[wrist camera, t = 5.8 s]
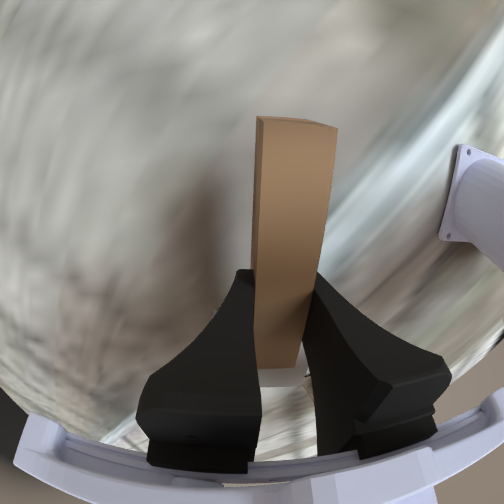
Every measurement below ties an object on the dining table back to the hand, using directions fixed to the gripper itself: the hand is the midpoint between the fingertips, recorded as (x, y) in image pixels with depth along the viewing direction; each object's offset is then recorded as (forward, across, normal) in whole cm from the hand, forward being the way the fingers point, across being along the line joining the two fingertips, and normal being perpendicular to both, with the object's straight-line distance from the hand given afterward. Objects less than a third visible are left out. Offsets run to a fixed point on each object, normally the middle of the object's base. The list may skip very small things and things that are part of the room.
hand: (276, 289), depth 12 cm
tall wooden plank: (+2, 0, +2) cm, 3 cm away
